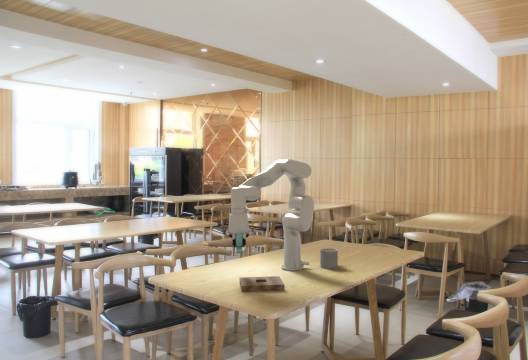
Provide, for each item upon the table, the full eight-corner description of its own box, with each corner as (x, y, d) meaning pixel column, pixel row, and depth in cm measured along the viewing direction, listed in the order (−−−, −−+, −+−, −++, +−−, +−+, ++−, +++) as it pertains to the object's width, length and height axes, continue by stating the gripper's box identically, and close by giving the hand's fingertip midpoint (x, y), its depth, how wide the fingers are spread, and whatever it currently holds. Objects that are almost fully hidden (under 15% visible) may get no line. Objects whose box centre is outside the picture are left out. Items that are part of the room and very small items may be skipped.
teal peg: (243, 251, 232) (242, 228, 231) (243, 253, 228) (243, 230, 227) (235, 252, 232) (234, 229, 231) (235, 253, 227) (235, 230, 227)
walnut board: (279, 282, 225) (279, 276, 225) (284, 290, 209) (284, 284, 209) (239, 283, 223) (239, 277, 223) (241, 292, 207) (241, 285, 207)
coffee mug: (330, 269, 252) (330, 252, 251) (316, 266, 259) (316, 249, 259) (344, 266, 261) (344, 249, 261) (331, 263, 268) (331, 246, 268)
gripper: (254, 210, 233) (254, 244, 234) (222, 210, 232) (222, 245, 232) (255, 211, 226) (256, 247, 227) (222, 212, 224) (223, 248, 225)
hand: (239, 246), depth 230 cm, fingers closed on teal peg, 4 cm apart
